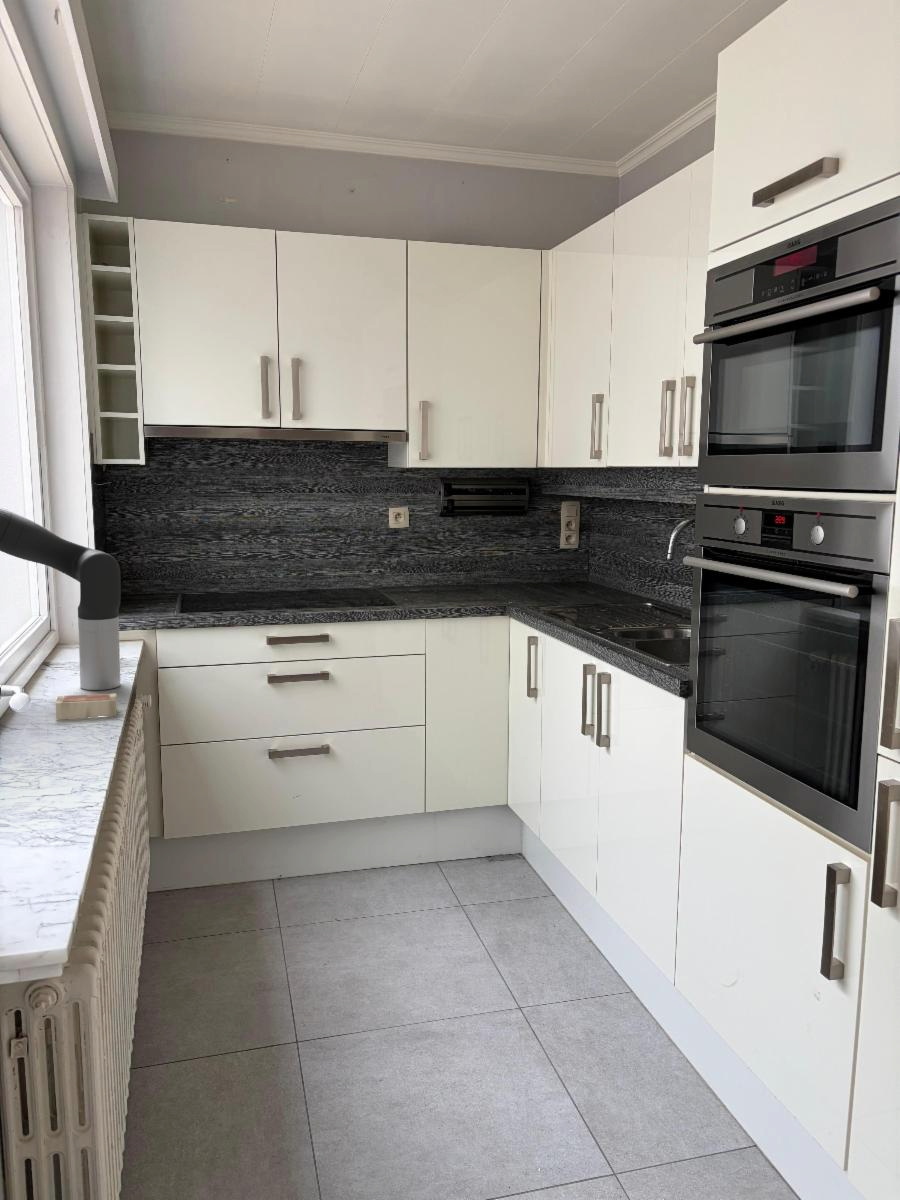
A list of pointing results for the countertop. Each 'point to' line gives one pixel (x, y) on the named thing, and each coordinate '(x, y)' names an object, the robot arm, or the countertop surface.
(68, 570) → the robot arm
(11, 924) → the countertop surface
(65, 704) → the birch block
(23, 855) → the countertop surface
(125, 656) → the countertop surface
